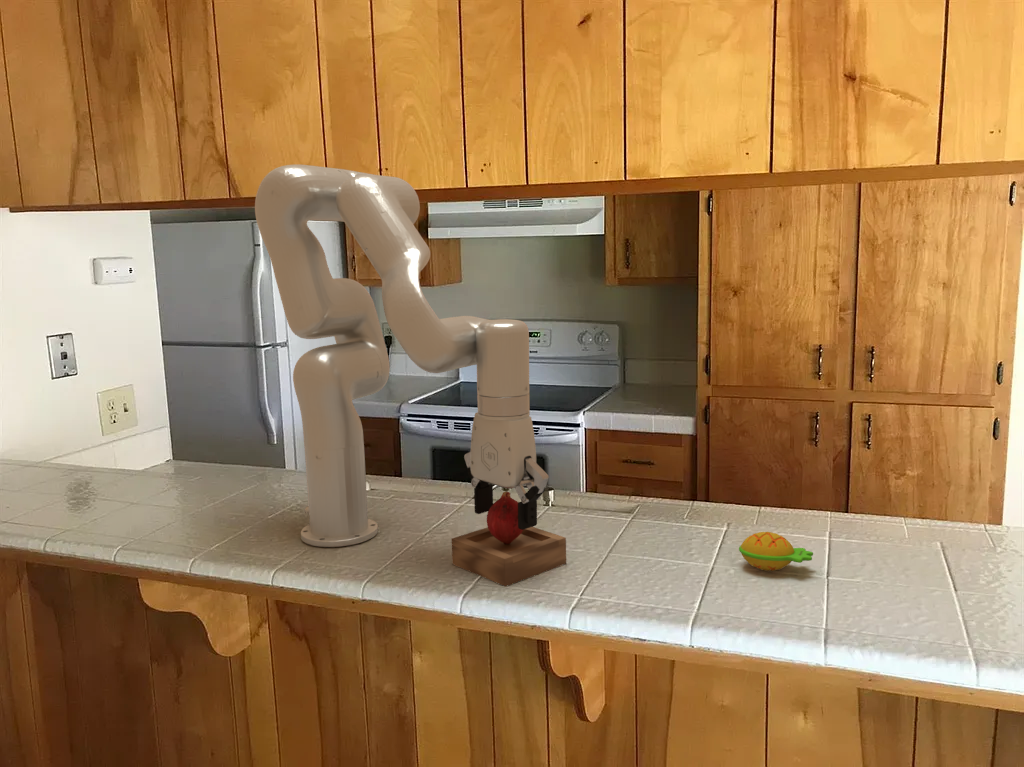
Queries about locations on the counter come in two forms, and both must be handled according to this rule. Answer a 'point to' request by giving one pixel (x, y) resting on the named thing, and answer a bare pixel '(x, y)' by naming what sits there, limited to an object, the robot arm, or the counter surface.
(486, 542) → the base
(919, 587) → the counter surface
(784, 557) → the toy pineapple
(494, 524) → the onion
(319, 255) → the robot arm
